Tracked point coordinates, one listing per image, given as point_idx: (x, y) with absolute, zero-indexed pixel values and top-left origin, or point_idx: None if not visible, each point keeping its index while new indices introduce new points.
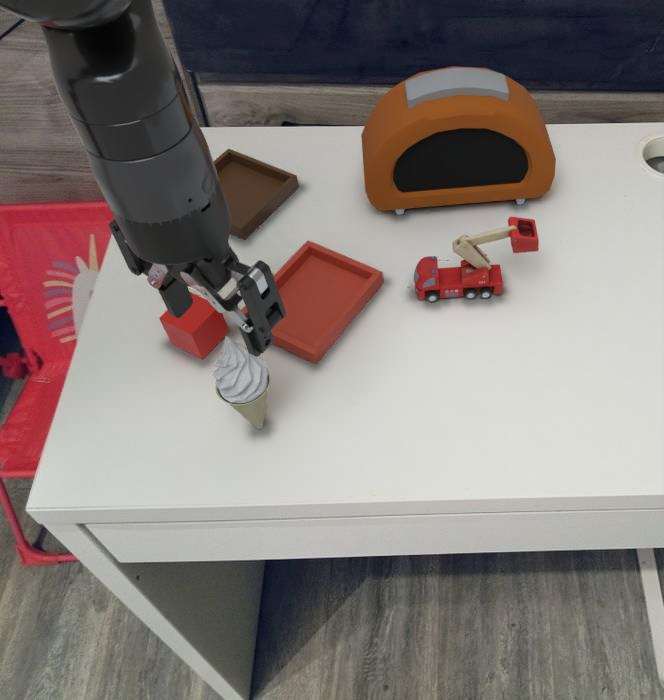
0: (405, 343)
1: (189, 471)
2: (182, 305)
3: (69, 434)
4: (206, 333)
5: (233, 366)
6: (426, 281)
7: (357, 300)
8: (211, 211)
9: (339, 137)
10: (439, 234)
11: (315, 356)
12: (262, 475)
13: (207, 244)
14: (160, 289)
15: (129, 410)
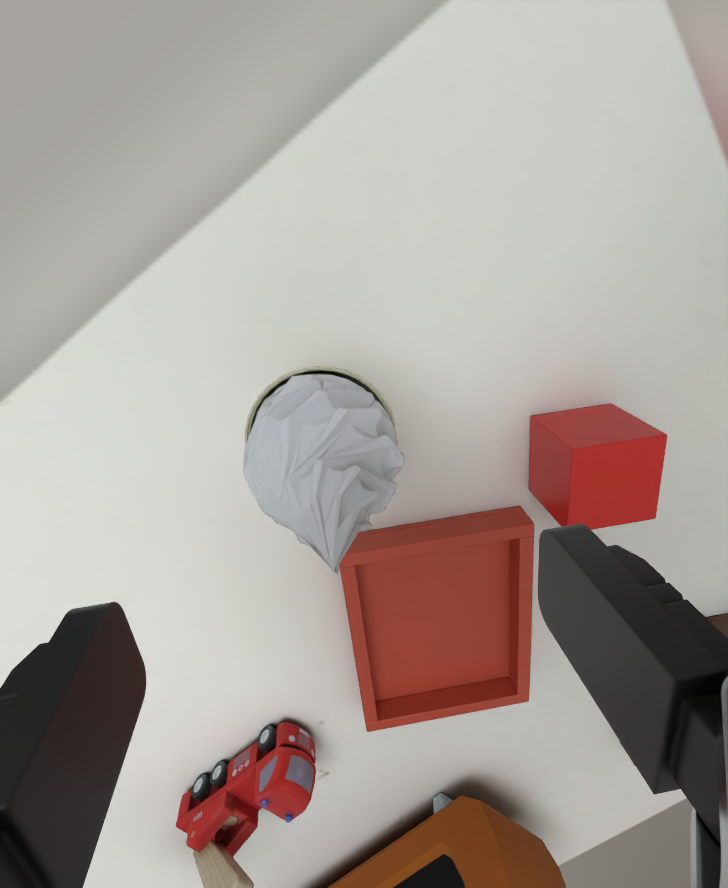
0: (238, 652)
1: (358, 199)
2: (559, 595)
3: (664, 91)
4: (553, 466)
5: (293, 476)
6: (270, 775)
7: (358, 674)
8: None
9: (622, 825)
10: (356, 804)
11: None
12: (221, 294)
13: None
14: (706, 677)
15: (583, 230)
